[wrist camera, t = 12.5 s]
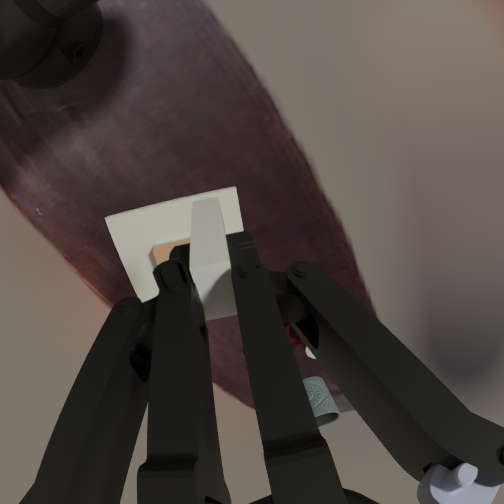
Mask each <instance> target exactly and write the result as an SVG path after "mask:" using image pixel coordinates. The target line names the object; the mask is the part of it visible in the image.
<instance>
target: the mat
mask: <svg viewBox="0 0 504 504" xmlns="http://www.w3.org/2000/svg"><path fill="white" fill-rule="evenodd" d="M217 196H219V201H220V206H221V211H222V215H223V220H224V225H225V230H226V234H231V233H236V232H241V231H243V225H242V219H241V214H240V208H239V202H238V197H237V191H236V186H234V187H229V188H224V189H219V190H215V191H210V192H205V193H200V194H196V195H191V196H187V197H182V198H178V199H174V200H170V201H165V202H161V203H157V204H153V205H149V206H145V207H141V208H137V209H133V210H130V211H126V212H122V213H118V214H115V215H111V216H107V217H105V221H106V224H107V226H108V229H109V232H110V234H111V237H112V239H113V242H114V244H115V247H116V249H117V251H118V254H119V256H120V259H121V261H122V263H123V266H124V268H125V270H126V272H127V275H128V277H129V279H130V281H131V283H132V286H133V288H134V290H135V292H136V294H137V296H138V298H139V299H141V301H142V303H143V302H145V301H147V300H150V299H152V298H154V297H156V296H157V295H158V294H159V288H158V286H157V283H156V281H155V279H154V276H153V274H152V272H153V270H154V268H155V267H156V266H157V262H156V260H155V257H154V254H153V249H154V244H156V243H160V242H165V241H169V240H174V239H178V238H183V237H188V236H191V217H192V202H194V201H198V200H203V199H208V198H212V197H217Z"/></svg>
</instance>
